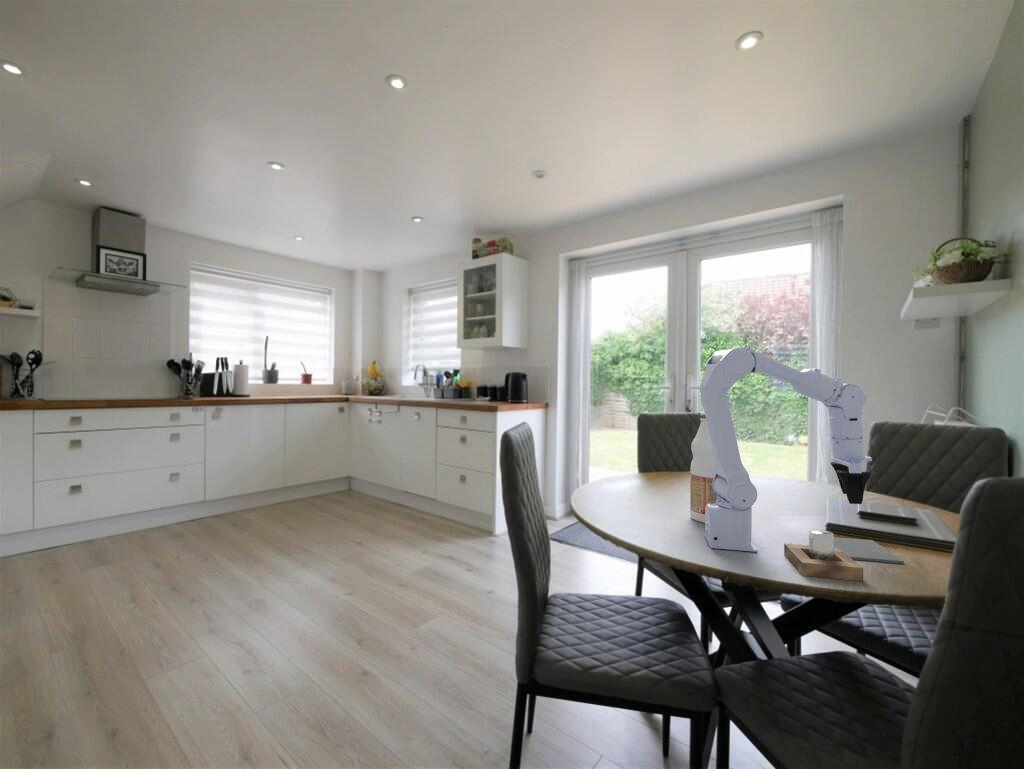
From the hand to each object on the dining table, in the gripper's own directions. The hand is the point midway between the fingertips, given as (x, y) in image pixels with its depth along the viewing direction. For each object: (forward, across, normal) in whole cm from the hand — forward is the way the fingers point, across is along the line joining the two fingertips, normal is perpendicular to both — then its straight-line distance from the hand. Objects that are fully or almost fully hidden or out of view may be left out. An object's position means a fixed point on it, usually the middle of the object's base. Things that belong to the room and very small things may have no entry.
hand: (851, 498), depth 99 cm
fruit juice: (+9, +6, +30) cm, 32 cm away
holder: (+10, -16, +8) cm, 20 cm away
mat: (+11, -2, 0) cm, 11 cm away
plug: (+10, -16, +8) cm, 20 cm away
